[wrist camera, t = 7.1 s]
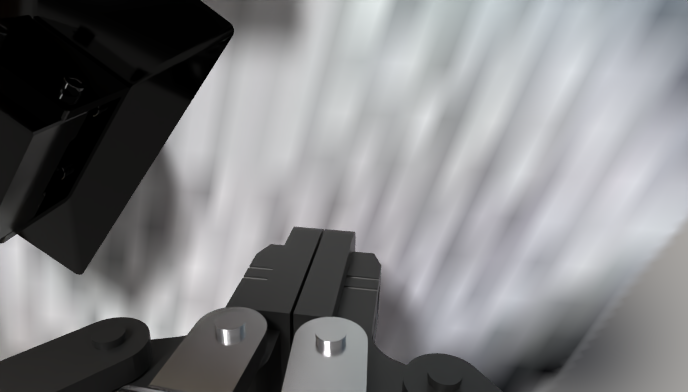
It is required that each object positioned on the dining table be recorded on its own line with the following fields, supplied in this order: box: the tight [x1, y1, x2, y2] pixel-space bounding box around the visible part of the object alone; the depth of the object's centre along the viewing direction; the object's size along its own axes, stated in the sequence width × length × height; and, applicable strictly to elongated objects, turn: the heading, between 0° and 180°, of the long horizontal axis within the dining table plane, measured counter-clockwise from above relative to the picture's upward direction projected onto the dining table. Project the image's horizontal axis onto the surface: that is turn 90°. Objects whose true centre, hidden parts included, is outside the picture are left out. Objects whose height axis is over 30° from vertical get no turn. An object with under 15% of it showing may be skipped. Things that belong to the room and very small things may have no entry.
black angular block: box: [0, 0, 234, 275], centre depth 13 cm, size 12×7×5 cm, turn 143°
